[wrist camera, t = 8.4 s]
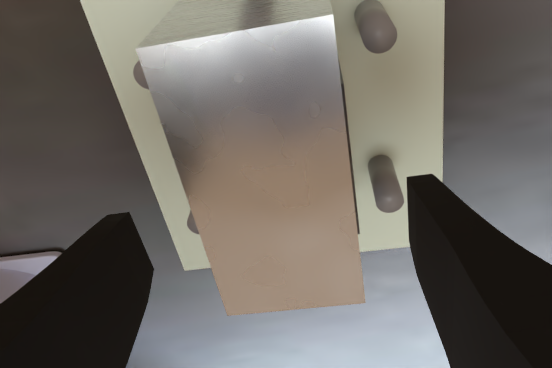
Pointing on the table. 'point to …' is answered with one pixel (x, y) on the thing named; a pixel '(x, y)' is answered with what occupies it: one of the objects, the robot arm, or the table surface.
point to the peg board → (359, 103)
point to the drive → (261, 147)
